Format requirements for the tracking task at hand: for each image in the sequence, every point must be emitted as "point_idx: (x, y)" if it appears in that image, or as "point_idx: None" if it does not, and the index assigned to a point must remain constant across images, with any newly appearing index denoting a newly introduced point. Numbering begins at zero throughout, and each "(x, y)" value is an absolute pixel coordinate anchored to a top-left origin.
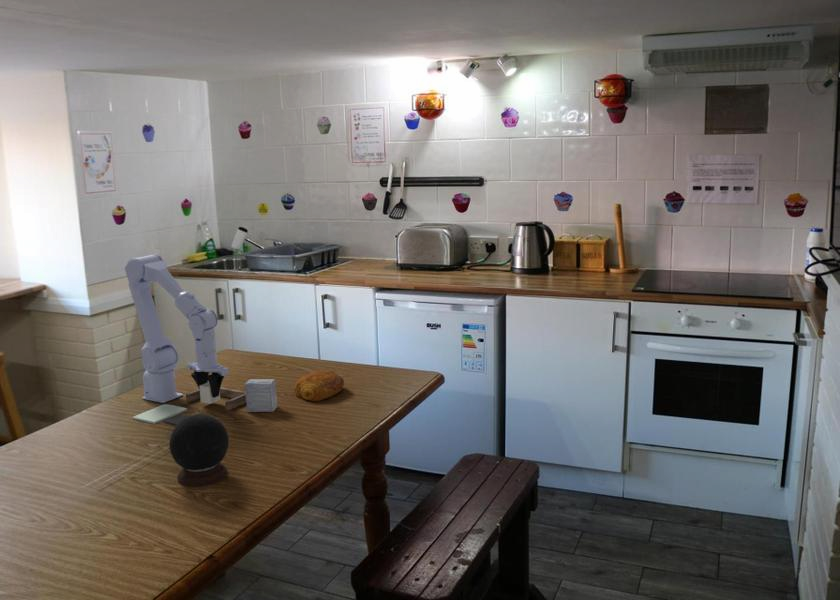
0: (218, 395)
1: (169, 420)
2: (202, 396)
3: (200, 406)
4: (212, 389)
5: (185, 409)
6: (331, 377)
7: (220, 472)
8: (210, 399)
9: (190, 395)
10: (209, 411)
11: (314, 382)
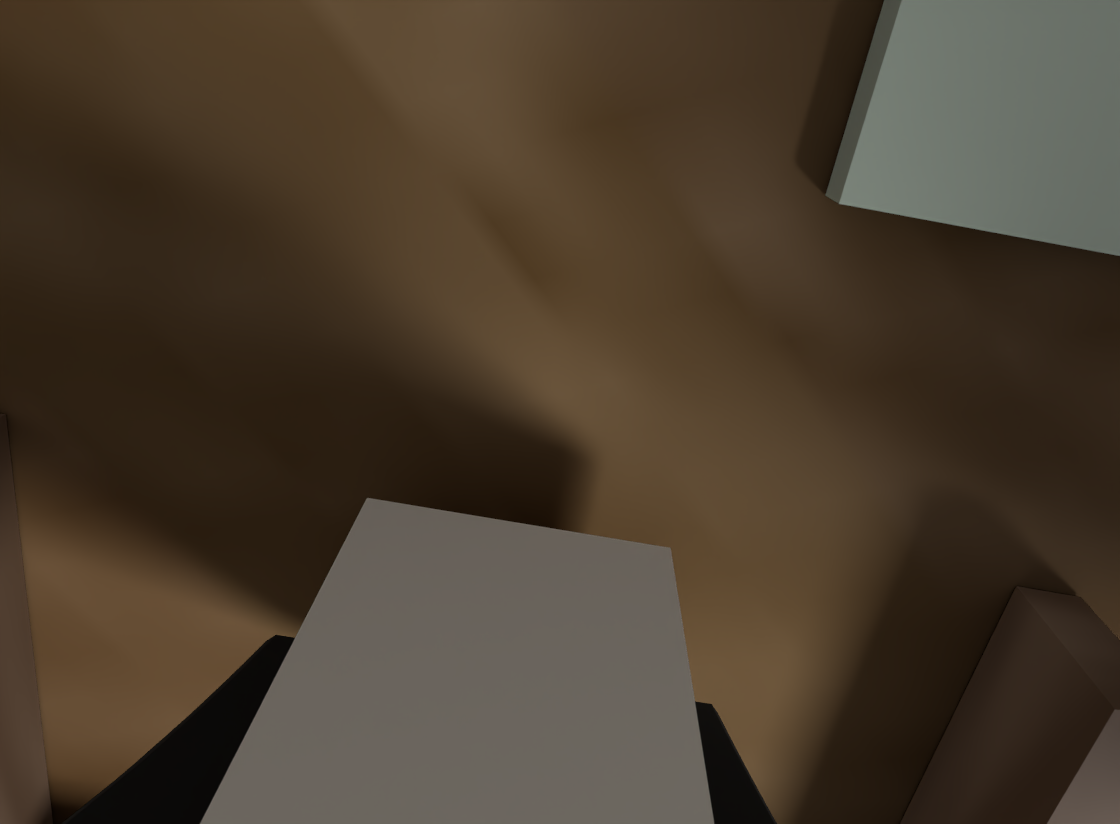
0: None
1: None
2: (604, 625)
3: (661, 473)
4: (124, 795)
5: (849, 148)
6: None
7: None
8: (340, 561)
9: (1064, 729)
10: (273, 269)
11: None
